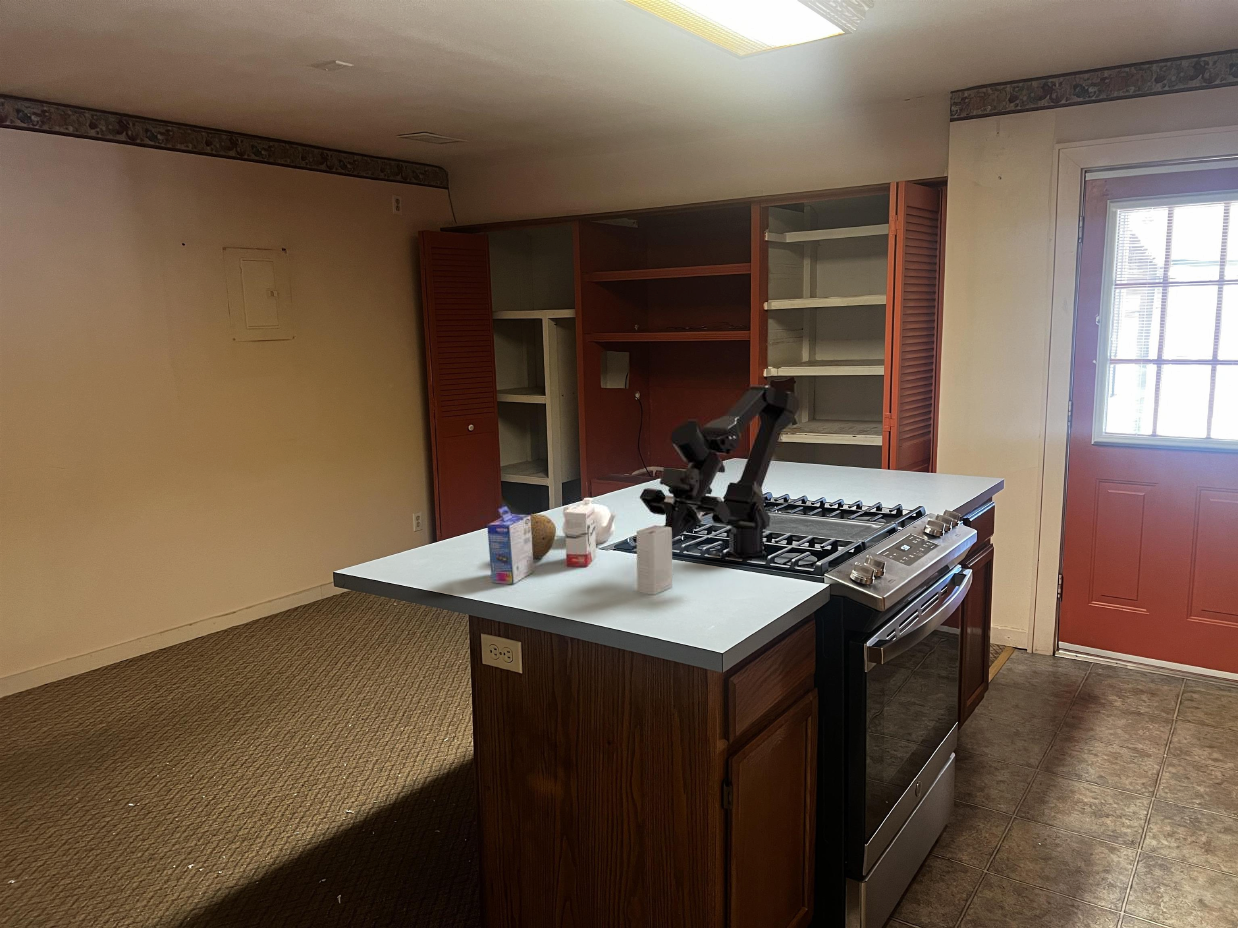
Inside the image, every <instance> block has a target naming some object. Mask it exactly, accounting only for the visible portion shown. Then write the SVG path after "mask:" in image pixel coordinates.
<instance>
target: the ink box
mask: <svg viewBox="0 0 1238 928" xmlns="http://www.w3.org/2000/svg"><path fill="white" fill-rule="evenodd" d="M569 507H570V508H569V509H568V510H566V511H565V519H564V520H565V534H566V536H565V553H566V554H565V560H566V561H565V564H566V565H565V566H566V567H589V565H590V564H591V563H592V562H593V561H594V560H595V558H597V546H596V545H597V544H596V537H595V506H586V505H582V504H573V505H571V506H569Z"/></svg>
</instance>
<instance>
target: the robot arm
mask: <svg viewBox="0 0 1238 928" xmlns="http://www.w3.org/2000/svg"><path fill="white" fill-rule="evenodd" d="M736 402H737V403H735V404H734V405H733V406H732V407H731V408H730V409H729V411H728V412H727V413H725V415H723V416H722V417H720V418H717V419H714V420H711V421H710V422H708V423H707V424H705V425H704V426H702V427H700V424H699V422H698V420H696V419H687V420H686V422H685V423H684V424H681V425H680V426H678V427H677V428H675V429H674V430H672V432H671V433H670V437H669V438H670V441H671V444H672V445H673V446H674V448H675V449H676V451H677V452H678V453H679V455H680V457H681V459H683V461H684V462H686V463H689V464H688V466H687V468H686V469H685V470H684V469H683V470H682V469H680V468H679V469H678V468H670V467H663V469H662V473H661V477H660V481H659V484H660V485H664V486H666V487H668V490H667V491H668V493H669V494H670V495H669V494H668V495H667V494H665V493H664V492H663V490H662V489H659V488H652V487H651V488H650V487H647V488H644V489H643V490H642V492H641V494H640V496H639V499H640V501H641V502H642V503H643V504H644V505H645V507H646V508H647V509H648V511H649V512H650V513H652V514H654V515H660V516H665V523H664V524H665V525H664V526H665V527H671V528H672V541H673V540H674V539H676V538H677V537H678V536H680V535H681V534H683V533H684V532H686V531H687V530H689V529H691V528H692V527H694V526H696V525H700V524H702V520H701V518H702V516H703V515H704V514H712V516H711V519H712V522H713V523H714V524H718V525H719V524H720V525H725V526H727V527H728V526H730V527H731V528H730V529H731V532H729V533H728V536H729V537H728V540H729V541H728V544H729V545H728V548H727V549H728V552H729V553H731V554H732V555H734V556H735V557H737V558H747V557H746V556H752V557H760V556H767V552H765V551H764V530H768V528H769V526H770V523H771V516H770V514H769V512H768V511H767V510H766V508H765V507H764V506H765V505H764V504H765V497H764V492H763V485H764V481H765V479H766V476H767V473H768V470H769V468H770V464H771V462H772V459H773V456H774V453H775V450H776V448H777V445H778V443H779V439H780V436H781V433H782V432H783V431H784V430H785V429H786V428H787V427H788V426H790V425H791V424H792V423H793V422H794V419H795V417H796V414H797V413H798V411H799V407H800V399H799V397H797V396H796V394H795V392H792V391H783V390H780V389H776V388H775V387H772V386H770V385H764V384H763V385H760V384H759V385H757V384H756V385H755V384H752V385H750V386H749V387H748V388H747V391H746V392H745V394H744V395H743V396H742V397H741V398H740V399H739V400H738V401H736ZM757 416H758V418H759V421H760V424H759V426H758V429H757V432H756V435H755V437H754V440H753V443H752V447H750V451H749V455H748V456H747V459H746V462H745V465H744V469H743V471H742V474H741V476H740V479H739V480H738V481H737V482H731V481H730V482H729V484H728V485H727V487H726V491H725V494H724V495H723V497H722V498H721V496H719V497H718V496H712V492H713V489H712V488H711V486H712V483H713V481H714V479H715V478H716V475H717V473H722V474H725V472H726V467H725V465H724V460H723V459H721V458H720V457H719V455H732V454H733V453H734V452H735V451H736V450H737V448H738V446H739V444H740V443H741V442H742V435H741V434H742V433H743V431H744V430H745V429H746V427H748V425H749V424H751V422H752V421H754V419H755V418H756V417H757ZM710 495H711V496H710Z"/></svg>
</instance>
